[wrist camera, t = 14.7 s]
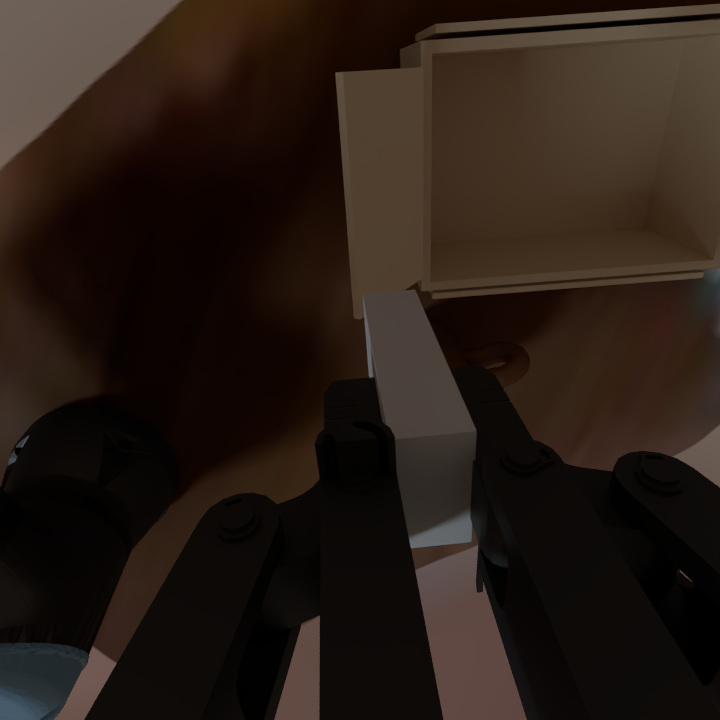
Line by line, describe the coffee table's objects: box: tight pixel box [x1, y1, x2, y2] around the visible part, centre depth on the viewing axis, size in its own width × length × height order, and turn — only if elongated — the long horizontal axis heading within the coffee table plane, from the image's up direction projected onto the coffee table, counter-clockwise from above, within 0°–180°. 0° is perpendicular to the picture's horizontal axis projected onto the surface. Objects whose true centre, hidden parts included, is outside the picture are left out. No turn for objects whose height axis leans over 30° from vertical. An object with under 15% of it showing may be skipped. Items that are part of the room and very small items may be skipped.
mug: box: [429, 321, 530, 388], centre depth 41 cm, size 12×8×9 cm, turn 117°
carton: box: [400, 4, 720, 299], centre depth 33 cm, size 20×15×9 cm
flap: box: [335, 67, 424, 319], centre depth 27 cm, size 7×12×1 cm
